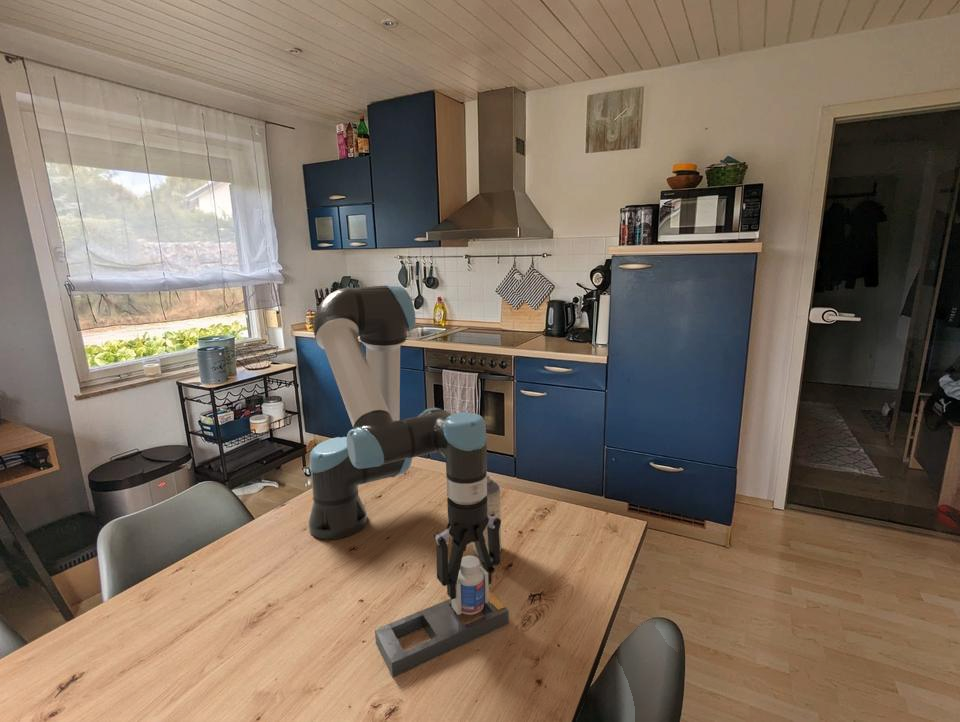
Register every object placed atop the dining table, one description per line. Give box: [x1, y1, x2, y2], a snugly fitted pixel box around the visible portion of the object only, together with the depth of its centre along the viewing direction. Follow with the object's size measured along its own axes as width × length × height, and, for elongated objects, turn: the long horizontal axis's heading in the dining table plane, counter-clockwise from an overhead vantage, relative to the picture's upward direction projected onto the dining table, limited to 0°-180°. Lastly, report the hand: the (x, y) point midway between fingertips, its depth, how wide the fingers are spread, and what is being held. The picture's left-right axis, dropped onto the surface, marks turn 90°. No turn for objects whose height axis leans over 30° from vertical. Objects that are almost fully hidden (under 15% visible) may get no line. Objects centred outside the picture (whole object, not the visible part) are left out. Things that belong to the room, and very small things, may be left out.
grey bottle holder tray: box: [374, 589, 510, 678], centre depth 93 cm, size 9×24×3 cm, turn 120°
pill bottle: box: [457, 555, 484, 616], centre depth 95 cm, size 6×5×10 cm
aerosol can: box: [472, 473, 502, 558], centre depth 117 cm, size 7×7×20 cm
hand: (470, 604), depth 96 cm, fingers closed on pill bottle, 5 cm apart
